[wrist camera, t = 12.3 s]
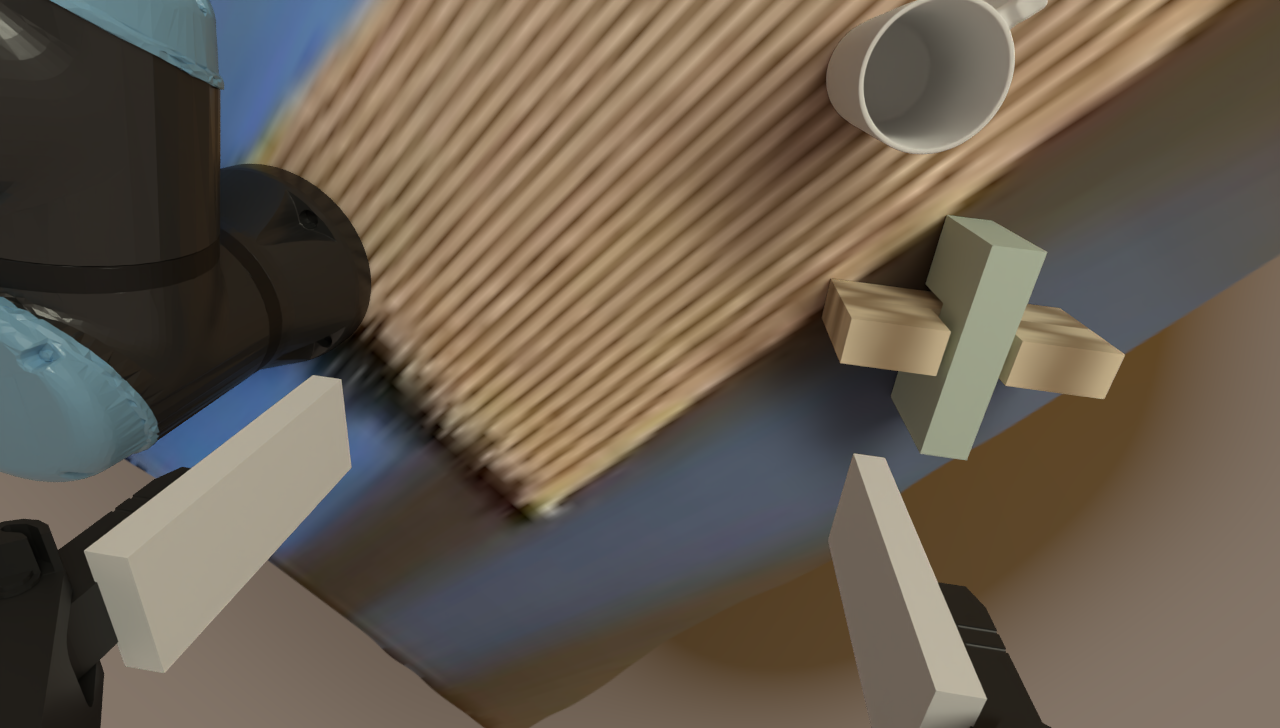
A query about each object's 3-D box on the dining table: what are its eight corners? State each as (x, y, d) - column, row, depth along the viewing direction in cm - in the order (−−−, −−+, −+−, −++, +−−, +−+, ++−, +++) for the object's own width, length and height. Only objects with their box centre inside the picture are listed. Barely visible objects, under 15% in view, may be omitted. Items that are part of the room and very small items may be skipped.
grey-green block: (890, 396, 49) (920, 453, 42) (946, 215, 43) (992, 245, 36) (930, 402, 49) (966, 460, 42) (992, 220, 43) (1047, 252, 36)
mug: (854, 152, 42) (901, 183, 31) (800, 62, 40) (830, 61, 29) (1005, 50, 39) (1115, 45, 28) (954, -53, 37) (1051, -102, 26)
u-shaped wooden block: (821, 317, 47) (840, 363, 40) (830, 278, 46) (851, 318, 39) (1044, 346, 46) (1103, 399, 39) (1059, 308, 45) (1125, 354, 38)
